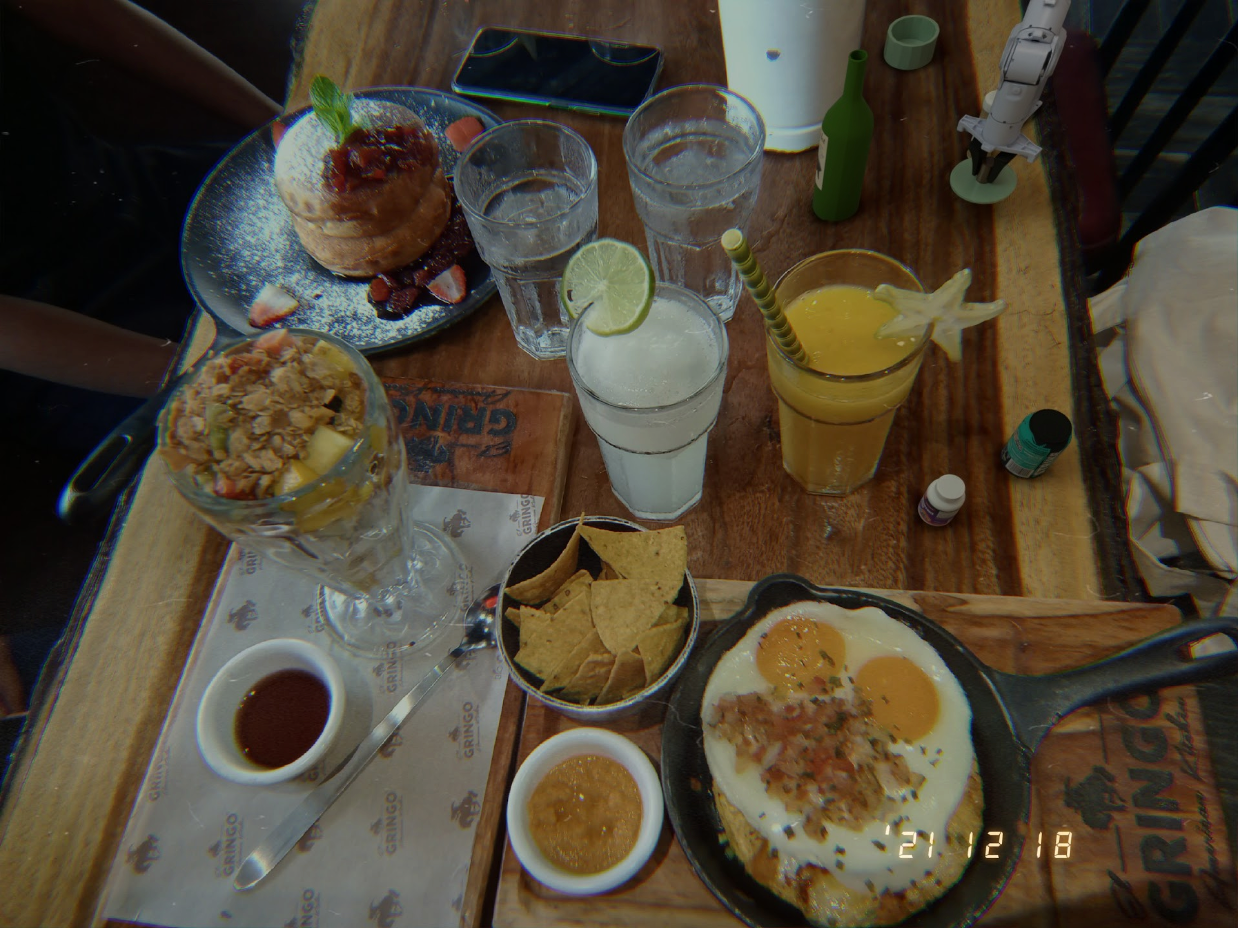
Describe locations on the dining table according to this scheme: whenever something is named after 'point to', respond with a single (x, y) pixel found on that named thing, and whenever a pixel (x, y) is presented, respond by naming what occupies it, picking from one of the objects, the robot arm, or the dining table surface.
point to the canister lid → (982, 182)
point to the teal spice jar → (1036, 443)
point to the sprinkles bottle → (985, 112)
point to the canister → (911, 42)
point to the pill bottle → (942, 500)
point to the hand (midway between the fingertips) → (984, 176)
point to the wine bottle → (844, 147)
